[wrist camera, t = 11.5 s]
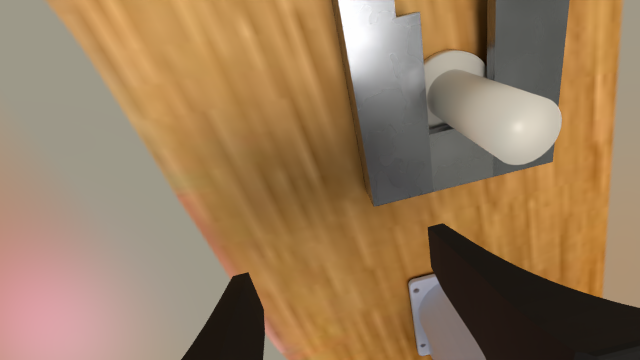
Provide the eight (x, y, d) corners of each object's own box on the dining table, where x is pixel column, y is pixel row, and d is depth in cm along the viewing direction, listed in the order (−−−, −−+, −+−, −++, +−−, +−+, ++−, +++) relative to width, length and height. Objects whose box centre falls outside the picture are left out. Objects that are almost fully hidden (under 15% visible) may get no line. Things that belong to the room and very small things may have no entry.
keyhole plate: (531, 150, 24) (552, 161, 22) (366, 191, 24) (374, 206, 22) (560, -261, 15) (600, -300, 13) (296, -196, 15) (298, -226, 13)
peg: (481, 121, 23) (574, 172, 15) (408, 136, 22) (467, 195, 15) (484, 41, 20) (595, 59, 13) (403, 58, 20) (470, 85, 13)
